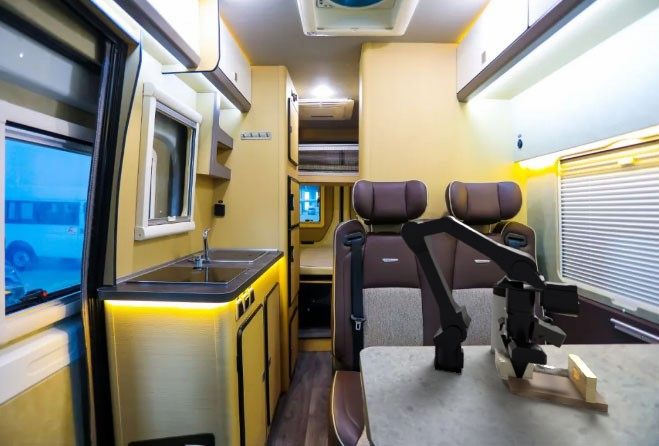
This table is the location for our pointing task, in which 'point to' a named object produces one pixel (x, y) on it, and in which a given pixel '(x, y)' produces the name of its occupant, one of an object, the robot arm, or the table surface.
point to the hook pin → (507, 369)
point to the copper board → (553, 390)
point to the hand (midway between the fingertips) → (517, 374)
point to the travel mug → (497, 316)
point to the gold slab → (582, 378)
